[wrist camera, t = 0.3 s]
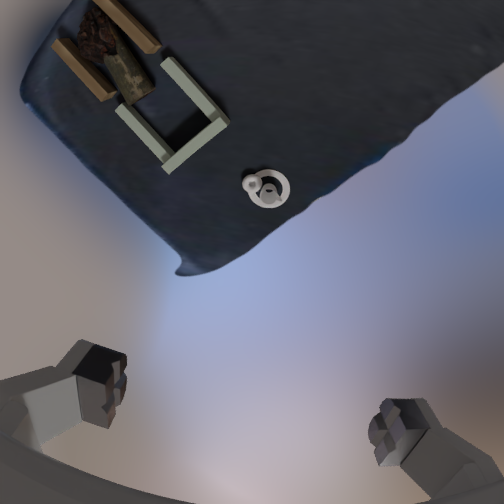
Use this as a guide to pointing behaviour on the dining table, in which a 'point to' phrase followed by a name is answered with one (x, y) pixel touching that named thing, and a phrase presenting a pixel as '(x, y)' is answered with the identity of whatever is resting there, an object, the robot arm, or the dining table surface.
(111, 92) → the oak channel
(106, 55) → the dark piece
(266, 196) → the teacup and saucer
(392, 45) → the dining table surface
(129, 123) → the frame
